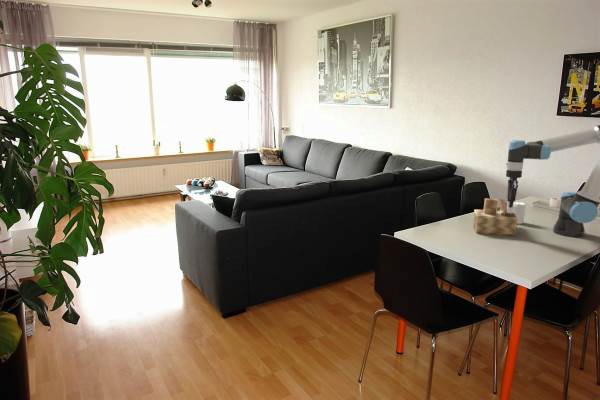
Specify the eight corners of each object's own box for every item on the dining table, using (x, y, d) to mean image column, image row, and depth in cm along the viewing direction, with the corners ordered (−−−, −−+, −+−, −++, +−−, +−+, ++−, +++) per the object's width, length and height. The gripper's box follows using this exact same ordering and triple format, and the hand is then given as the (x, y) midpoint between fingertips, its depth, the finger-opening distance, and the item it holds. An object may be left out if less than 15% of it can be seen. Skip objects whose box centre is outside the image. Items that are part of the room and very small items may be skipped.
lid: (512, 213, 250) (514, 198, 248) (518, 220, 237) (520, 203, 234) (474, 211, 255) (475, 195, 253) (477, 217, 242) (478, 201, 240)
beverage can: (509, 223, 263) (511, 204, 261) (508, 220, 271) (510, 201, 268) (524, 225, 261) (526, 205, 258) (522, 221, 268) (525, 202, 265)
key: (503, 206, 262) (504, 199, 261) (511, 216, 240) (512, 208, 239) (498, 205, 263) (499, 199, 262) (505, 215, 241) (506, 208, 240)
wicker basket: (508, 226, 258) (510, 207, 255) (515, 236, 239) (517, 215, 236) (471, 223, 263) (473, 204, 260) (476, 233, 244) (478, 213, 241)
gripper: (504, 167, 241) (499, 209, 246) (509, 171, 228) (504, 215, 234) (519, 168, 239) (514, 210, 244) (525, 171, 227) (519, 216, 232)
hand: (509, 212), depth 239 cm, fingers closed
